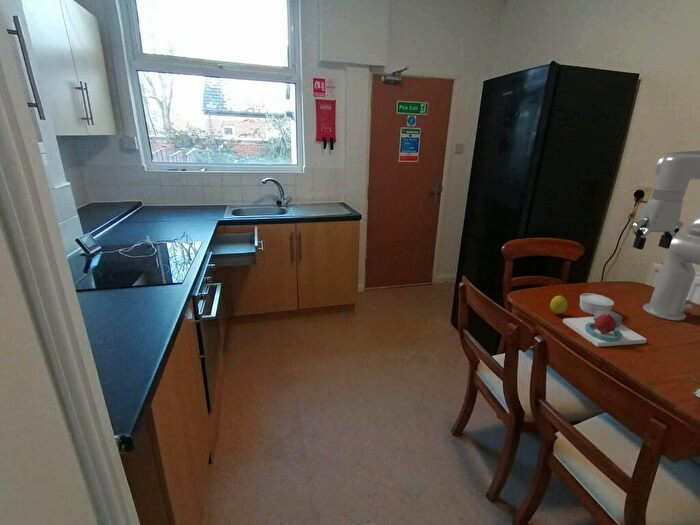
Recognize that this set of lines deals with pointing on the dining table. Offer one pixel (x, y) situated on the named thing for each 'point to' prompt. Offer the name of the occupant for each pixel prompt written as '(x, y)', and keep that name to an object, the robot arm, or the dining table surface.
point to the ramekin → (594, 303)
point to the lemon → (558, 304)
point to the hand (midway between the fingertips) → (650, 247)
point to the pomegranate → (605, 323)
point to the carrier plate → (616, 337)
